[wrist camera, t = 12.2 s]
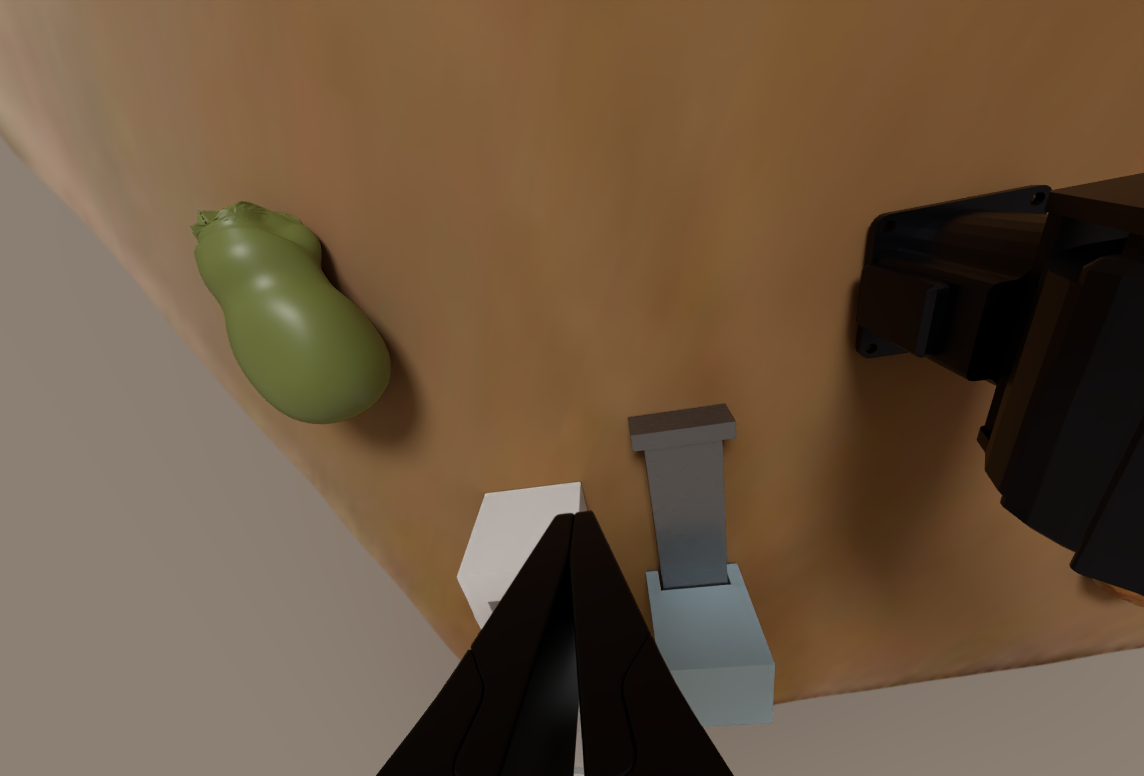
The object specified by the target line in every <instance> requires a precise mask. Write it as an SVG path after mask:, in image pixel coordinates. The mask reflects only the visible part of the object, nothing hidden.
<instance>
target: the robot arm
mask: <svg viewBox="0 0 1144 776" xmlns="http://www.w3.org/2000/svg"><path fill="white" fill-rule="evenodd" d="M1034 195H1035V199H1034V201H1033V202H1032V203H1031V204H1030V200H1031V198H1032V197H1033V196H1034ZM1047 212H1049V213H1048V214H1047ZM887 221H889V227H888V229H887V230H886V231H884V232H883V230H882V227H883V225H884V224H885V223H886V222H887ZM856 322H857V323H858V331H857V339H856V352H857V353H858V354H860V355H861V356H863V357H865V358H875V357H882V356H888V355H895V354H902V353H908V352H909V353H911V354H913V355H915V356H917V357H920V358H921V357H926V358H928V359H929V360H931V361H933V362H935V363H937V364H939V365H941V366H943V367H945V368H946V369H948V370H950V371H952V372H954V373H956V374H958V375H960V376H962V377H963V378H965V379H967V380H969V381H979V380H986V381H987V382H989V383H991V384H993V385H995V386H996V390H995V393H994V396H993V400H992V403H991V406H990V410H989V413H988V416H987V420H986V423H985V426H981V427H980V430H979V433H978V437H977V441H978V443H979V444H980V446H981V447H982V449H983V450H984V451H985V472H986V473H987V475H988V476H989V478H990V479H991V481H992V482H993V484H994V485H995V487H996V488H997V490H998V491H999V492H1000V493H1001V494H1002V497H1001V501H1000V503H1001V505H1002V506H1003V507H1004V508H1005V509H1007V510H1008V511H1009V512H1011V513H1012V514H1013V515H1014V516H1016V517H1017V518H1018V519H1019V520H1021V521H1022V522H1023V523H1025V524H1026V525H1027V526H1029V527H1030V528H1031V529H1033V530H1035V531H1037V532H1038V533H1040V534H1042V535H1043V536H1045V537H1047V538H1049V539H1050V540H1052V541H1054V542H1055V543H1057V544H1059V545H1061V546H1062V547H1065V548H1067V549H1069V550H1071V551H1073V552H1075V554H1074V556H1073V558H1072V560H1071V562H1070V564H1069V565H1070V568H1071V569H1073V570H1074V571H1075V572H1077V573H1079V574H1081V575H1084V576H1087V577H1090V578H1093V579H1096V580H1099V581H1102V582H1105V583H1108V584H1110V585H1113V586H1116V587H1119V588H1122V589H1125V590H1128V591H1131V592H1134V593H1137V594H1140V595H1142V596H1144V173H1141V174H1135V175H1130V176H1125V177H1119V178H1114V179H1109V180H1104V181H1098V182H1093V183H1088V184H1082V185H1077V186H1072V187H1066V188H1061V189H1056V190H1052V189H1051V187H1049V186H1047V185H1030V186H1025V187H1020V188H1014V189H1009V190H1004V191H999V192H993V193H988V194H983V195H978V196H972V197H967V198H962V199H957V200H951V201H946V202H941V203H936V204H930V205H925V206H920V207H915V208H909V209H904V210H899V211H894V212H888V213H884V214H881V215H879V216H878V217H876V218H875V219H874V221H873V222H872V224H871V227H870V233H869V242H868V250H867V258H866V266H865V268H864V269H863V270H862V276H861V284H860V292H859V301H858V309H857V317H856ZM870 344H872V347H871V348H870V349H869V350H866V348H867V346H868V345H870ZM579 708H580V722H581V737H582V751H583V766H584V776H734V775H733V774H732V772H731V771H730V769H729V768H728V766H727V764H726V763H725V761H724V760H723V758H722V757H721V755H720V753H719V752H718V750H717V749H716V747H715V745H714V744H713V743H712V741H711V739H710V738H709V736H708V734H707V733H706V732H705V730H704V728H703V727H702V725H701V723H700V722H699V720H698V719H697V717H696V716H695V714H694V712H693V711H692V709H691V707H690V706H689V704H688V702H687V701H686V699H685V697H684V696H683V694H682V692H681V691H680V689H679V687H678V685H677V684H676V682H675V680H674V678H673V676H672V674H671V672H670V670H669V669H668V667H667V665H666V663H665V661H664V659H663V657H662V655H661V653H660V651H659V649H658V647H657V644H656V642H655V640H654V638H653V637H652V636H651V632H650V630H649V628H648V626H647V624H646V622H645V620H644V618H643V615H642V613H641V611H640V609H639V607H638V605H637V603H636V601H635V599H634V597H633V594H632V592H631V590H630V588H629V586H628V584H627V582H626V580H625V578H624V576H623V574H622V571H621V569H620V567H619V565H618V563H617V561H616V559H615V557H614V555H613V553H612V550H611V548H610V546H609V544H608V542H607V540H606V538H605V536H604V534H603V532H602V529H601V527H600V525H599V523H598V521H597V519H596V517H595V515H594V513H593V512H592V511H582V512H576V513H575V515H574V514H573V513H564V514H558V515H556V516H555V517H554V519H553V520H552V522H551V523H550V525H549V526H548V528H547V529H546V531H545V532H544V534H543V536H542V537H541V539H540V540H539V542H538V543H537V545H536V546H535V548H534V549H533V551H532V552H531V554H530V556H529V557H528V559H527V560H526V562H525V563H524V565H523V566H522V568H521V569H520V571H519V572H518V574H517V576H516V577H515V579H514V580H513V582H512V583H511V585H510V586H509V588H508V589H507V591H506V592H505V594H504V596H503V597H502V599H501V600H500V602H499V603H498V605H497V606H496V608H495V609H494V611H493V612H492V614H491V616H490V617H489V619H488V620H487V622H486V623H485V625H484V626H483V628H482V629H481V631H480V632H479V634H478V636H477V637H476V639H475V640H474V642H473V643H472V645H471V649H469V650H468V651H467V652H466V654H465V655H464V657H463V658H462V660H461V661H460V663H459V664H458V666H457V668H456V669H455V670H454V672H453V673H452V675H451V676H450V678H449V679H448V681H447V682H446V684H445V685H444V687H443V688H442V690H441V691H440V692H439V694H438V695H437V697H436V698H435V699H434V701H433V702H432V703H431V705H430V706H429V707H428V709H427V710H426V711H425V713H424V714H423V715H422V717H421V718H420V720H419V721H418V722H417V723H416V725H415V726H414V727H413V729H412V730H411V731H410V733H409V734H408V735H407V736H406V738H405V739H404V740H403V742H402V743H401V744H400V745H399V747H398V748H397V749H396V751H395V752H394V753H393V755H392V756H391V757H390V758H389V760H388V761H387V762H386V763H385V765H384V766H383V767H382V769H381V770H380V771H379V773H378V774H377V775H376V776H574V765H575V751H576V737H577V723H578V709H579Z"/></svg>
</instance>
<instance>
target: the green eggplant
mask: <svg viewBox="0 0 1144 776" xmlns="http://www.w3.org/2000/svg"><path fill="white" fill-rule="evenodd" d="M190 227H191V228H192V230H193V232H192V233H193V235H194V236H195V237H196V239H197V240H198V243H199V244H198V245H197V246H196V248H195V251H194V254H195V259H196V262H197V265H198V269H199V272H200V275H201V277H202V279H203V281H204V283H205V285H206V286H207V288H208V289H209V291H210V292H211V293H212V295H213V296H214V297H215V298H216V300H217V301H218V303H219V304H220V306H221V308H222V310H223V313H224V316H225V322H226V330H227V335H228V339H229V343H230V346H231V349H232V352H233V354H234V356H235V358H236V360H237V362H238V364H239V366H240V368H241V369H242V371H243V373H244V374H245V376H246V377H247V379H248V380H249V381H250V383H251V384H252V385H253V386H254V388H255V389H256V390H257V391H258V392H259V393H260V394H261V396H262V397H263V398H264V399H265V400H266V401H267V402H269V403H270V404H271V405H272V406H273V407H274V408H276V409H277V410H278V411H280V412H281V413H283V414H285V415H287V416H288V417H290V418H293V419H295V420H298V421H301V422H305V423H311V424H330V423H336V422H341V421H344V420H347V419H350V418H352V417H355V416H357V415H359V414H361V413H362V412H364V411H365V410H367V409H368V408H370V407H371V406H372V405H373V404H374V403H375V402H376V401H377V400H378V399H379V398H380V397H381V396H382V394H383V393H384V391H385V389H386V387H387V385H388V383H389V380H390V375H391V361H390V356H389V352H388V349H387V347H386V345H385V343H384V341H383V339H382V337H381V336H380V334H379V333H378V331H377V330H376V329H375V327H374V326H373V324H372V323H371V322H370V321H369V319H368V318H367V317H366V316H365V315H364V314H363V312H362V311H361V310H360V309H359V308H358V307H357V306H356V305H355V304H354V303H353V302H351V301H350V300H349V299H348V298H347V297H346V296H344V295H343V294H342V293H340V292H339V291H338V290H337V289H335V288H334V287H333V286H332V284H331V283H330V282H329V281H328V279H327V278H326V276H325V275H324V273H323V272H322V269H321V260H322V250H321V245H320V242H319V240H318V238H317V236H316V235H315V234H314V233H313V232H312V231H311V230H310V229H309V228H307V227H306V226H303V224H302V223H301V222H300V220H299V219H298V218H295V217H292V216H289V215H287V214H284V213H281V212H278V213H276V212H272V211H270V210H267V209H265V208H263V207H260V206H258V205H255V204H253V203H250V202H244V201H241V202H238V203H236V204H233V205H231V206H229V207H226V208H224V209H221V210H220V211H217V212H215V211H205V210H203V212H202V211H199V210H198V223H197V224H194V225H192V226H190Z"/></svg>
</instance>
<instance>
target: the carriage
mask: <svg viewBox="0 0 1144 776" xmlns="http://www.w3.org/2000/svg"><path fill="white" fill-rule="evenodd" d="M646 576H647V584H648V591H649V599H650V606H651V613H652V621H653V628H654V635H655V642H656V644H657V647H658V649H659V651H660V653H661V655H662V657H663V659H664V661H665V663H666V665H667V667H668V669H669V670H670V672H671V674H672V676H673V678H674V680H675V682H676V684H677V685H678V687H679V689H680V691H681V692H682V694H683V696H684V697H685V699H686V701H687V702H688V704H689V706H690V707H691V709H692V711H693V712H694V714H695V716H696V717H697V719H698V720H699V722H700V723H701V725H702V727H704V726H725V725H747V724H771V723H772V716H773V714H772V713H773V694H774V672H775V663H774V660H773V658H772V655H771V653H770V650H769V647H768V645H767V642H766V639H765V637H764V634H763V631H762V629H761V626H760V623H759V621H758V618H757V615H756V613H755V610H754V607H753V605H752V602H751V599H750V597H749V594H748V592H747V589H746V586H745V584H744V581H743V578H742V576H741V573H740V570H739V568H738V565H737V563H736V564H727V581H728V585H720V586H709V587H697V588H686V589H674V590H663V591H661V587H660V581H659V575H658V571H650V572H646Z"/></svg>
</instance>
